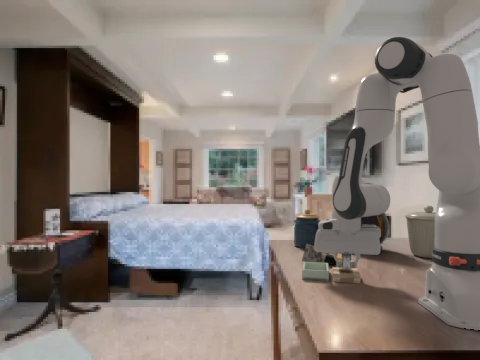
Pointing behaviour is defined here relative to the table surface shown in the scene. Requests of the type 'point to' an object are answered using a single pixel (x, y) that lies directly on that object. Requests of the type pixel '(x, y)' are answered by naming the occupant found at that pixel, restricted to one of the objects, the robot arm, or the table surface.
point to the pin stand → (346, 275)
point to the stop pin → (346, 262)
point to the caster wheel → (317, 256)
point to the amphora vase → (380, 222)
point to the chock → (339, 259)
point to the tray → (315, 271)
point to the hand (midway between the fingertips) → (346, 267)
